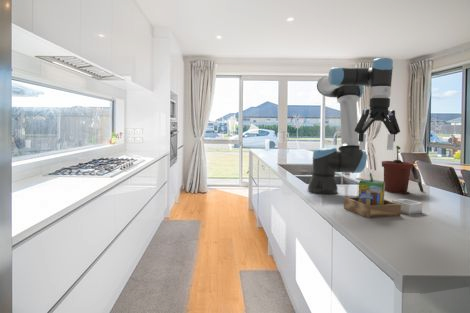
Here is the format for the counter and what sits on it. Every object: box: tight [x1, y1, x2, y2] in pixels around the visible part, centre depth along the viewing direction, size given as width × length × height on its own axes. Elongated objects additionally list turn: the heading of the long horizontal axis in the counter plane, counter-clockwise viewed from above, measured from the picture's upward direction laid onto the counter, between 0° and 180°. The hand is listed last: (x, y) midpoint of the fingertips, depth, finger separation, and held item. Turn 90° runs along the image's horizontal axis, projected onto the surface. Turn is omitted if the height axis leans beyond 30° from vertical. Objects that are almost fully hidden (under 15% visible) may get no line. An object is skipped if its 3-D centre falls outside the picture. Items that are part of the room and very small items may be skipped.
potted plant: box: [381, 145, 424, 195], centre depth 174 cm, size 18×22×25 cm
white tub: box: [391, 198, 423, 215], centre depth 132 cm, size 8×8×4 cm
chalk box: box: [358, 172, 386, 205], centre depth 129 cm, size 9×9×15 cm
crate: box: [343, 196, 401, 219], centre depth 129 cm, size 15×15×4 cm
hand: (376, 149), depth 132 cm, fingers open, 13 cm apart
